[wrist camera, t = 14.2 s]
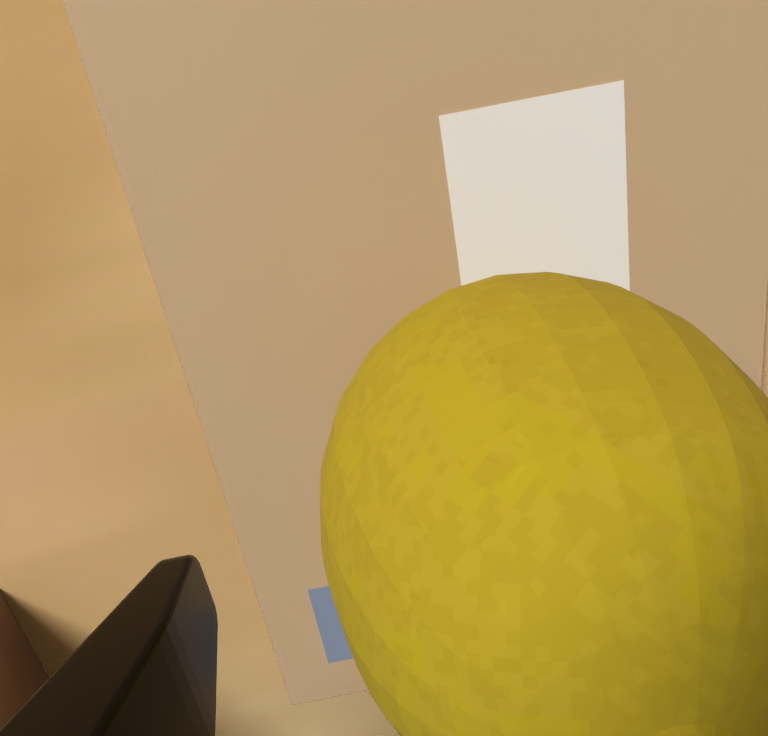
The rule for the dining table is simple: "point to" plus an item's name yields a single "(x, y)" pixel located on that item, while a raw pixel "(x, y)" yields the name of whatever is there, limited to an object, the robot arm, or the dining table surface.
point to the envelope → (412, 206)
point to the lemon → (551, 518)
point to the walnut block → (16, 666)
